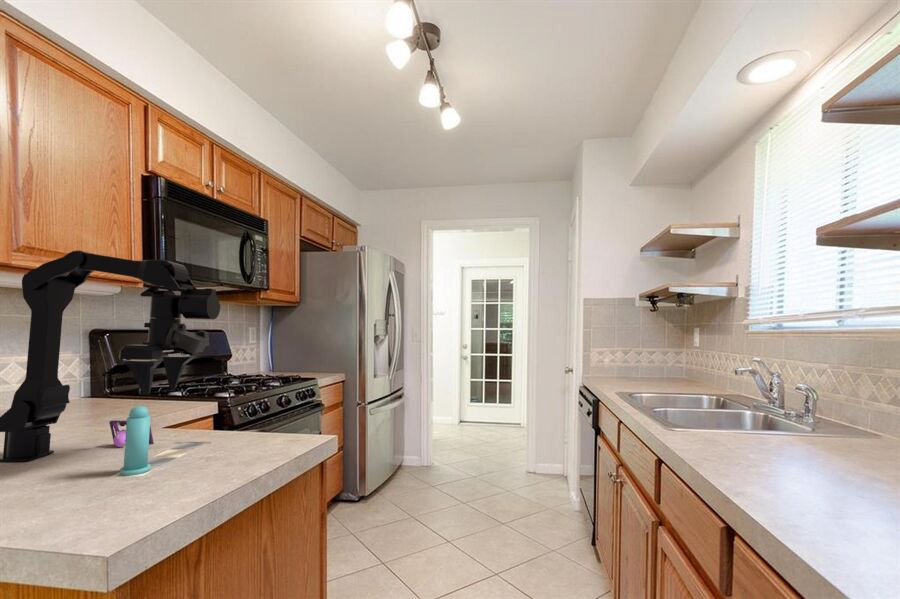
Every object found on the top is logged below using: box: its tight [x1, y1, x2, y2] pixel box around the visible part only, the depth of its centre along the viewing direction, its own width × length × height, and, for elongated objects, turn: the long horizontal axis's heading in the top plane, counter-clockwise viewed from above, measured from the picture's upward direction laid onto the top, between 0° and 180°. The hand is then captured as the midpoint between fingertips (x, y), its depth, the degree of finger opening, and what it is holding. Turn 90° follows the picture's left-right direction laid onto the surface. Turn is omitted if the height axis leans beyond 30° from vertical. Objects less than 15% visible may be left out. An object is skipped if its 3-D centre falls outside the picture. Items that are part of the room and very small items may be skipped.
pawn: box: [119, 405, 152, 476], centre depth 80 cm, size 5×5×12 cm
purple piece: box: [108, 419, 155, 449], centre depth 96 cm, size 7×5×9 cm
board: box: [110, 441, 212, 478], centre depth 88 cm, size 8×26×1 cm, turn 3°
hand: (160, 390), depth 92 cm, fingers open, 9 cm apart
